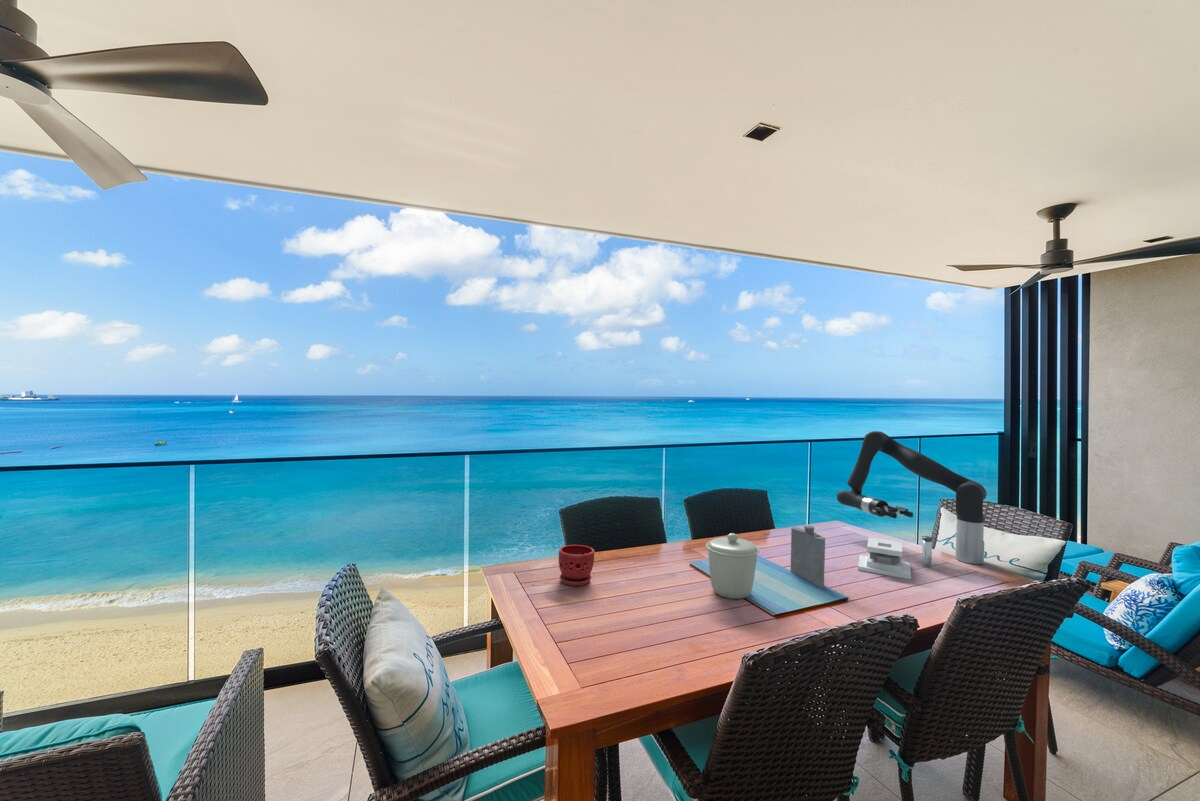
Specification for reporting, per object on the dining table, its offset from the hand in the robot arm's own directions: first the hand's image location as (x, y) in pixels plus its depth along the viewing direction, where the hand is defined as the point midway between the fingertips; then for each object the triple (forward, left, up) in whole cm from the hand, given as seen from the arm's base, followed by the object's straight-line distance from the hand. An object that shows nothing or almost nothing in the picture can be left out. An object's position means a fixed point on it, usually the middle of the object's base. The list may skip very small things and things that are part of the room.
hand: (904, 515), depth 212 cm
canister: (+53, +77, -18) cm, 95 cm away
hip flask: (+32, +48, -18) cm, 60 cm away
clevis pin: (-8, +8, -18) cm, 21 cm away
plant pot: (+105, +97, -18) cm, 144 cm away
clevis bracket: (+7, +20, -18) cm, 28 cm away
